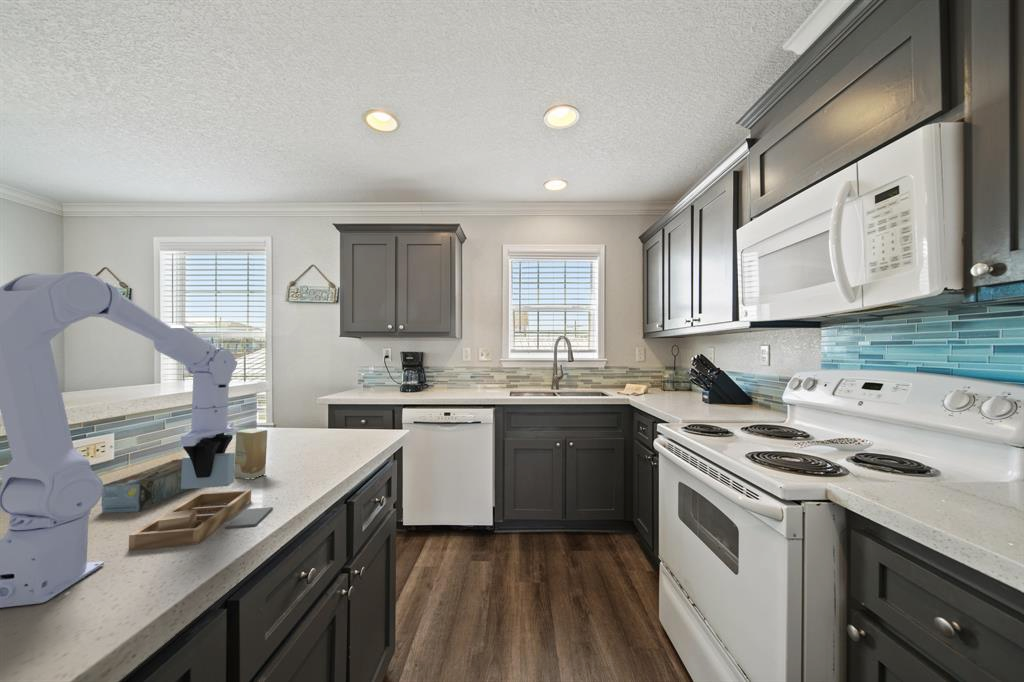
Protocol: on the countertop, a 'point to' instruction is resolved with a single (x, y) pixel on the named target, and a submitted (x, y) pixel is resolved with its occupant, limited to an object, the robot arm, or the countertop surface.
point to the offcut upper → (177, 520)
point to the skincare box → (250, 453)
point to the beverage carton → (143, 488)
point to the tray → (234, 499)
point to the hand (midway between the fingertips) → (207, 474)
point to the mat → (249, 517)
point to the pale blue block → (219, 475)
